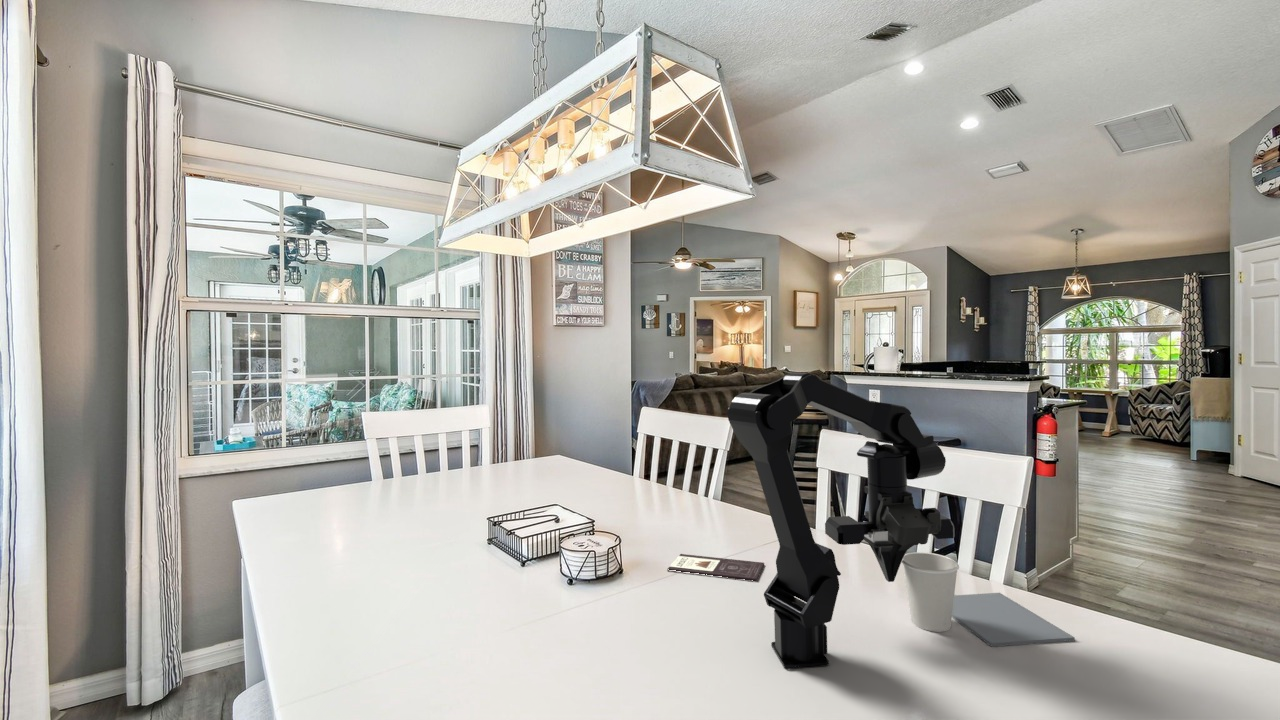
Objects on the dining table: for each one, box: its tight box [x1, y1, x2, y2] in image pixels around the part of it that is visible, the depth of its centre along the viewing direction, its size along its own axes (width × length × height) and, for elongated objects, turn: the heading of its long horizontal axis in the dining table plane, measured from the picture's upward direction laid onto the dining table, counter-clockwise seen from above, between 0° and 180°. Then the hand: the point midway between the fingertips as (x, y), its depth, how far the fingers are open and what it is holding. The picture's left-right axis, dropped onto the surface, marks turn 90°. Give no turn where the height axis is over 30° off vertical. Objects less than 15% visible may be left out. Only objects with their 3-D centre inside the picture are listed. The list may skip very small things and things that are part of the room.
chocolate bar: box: [667, 553, 765, 582], centre depth 118 cm, size 9×1×18 cm
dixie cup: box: [901, 551, 960, 633], centre depth 92 cm, size 8×8×10 cm
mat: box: [951, 592, 1076, 647], centre depth 93 cm, size 13×16×1 cm
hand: (889, 580), depth 92 cm, fingers closed
